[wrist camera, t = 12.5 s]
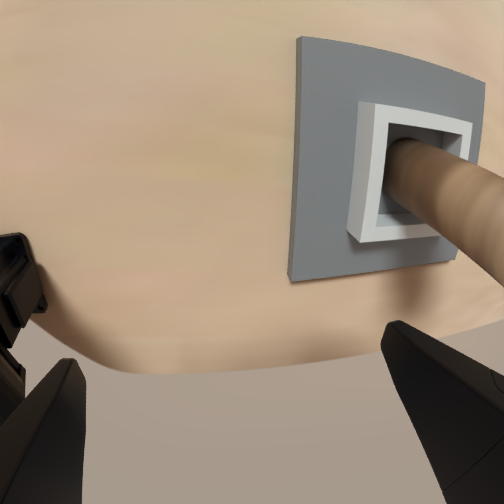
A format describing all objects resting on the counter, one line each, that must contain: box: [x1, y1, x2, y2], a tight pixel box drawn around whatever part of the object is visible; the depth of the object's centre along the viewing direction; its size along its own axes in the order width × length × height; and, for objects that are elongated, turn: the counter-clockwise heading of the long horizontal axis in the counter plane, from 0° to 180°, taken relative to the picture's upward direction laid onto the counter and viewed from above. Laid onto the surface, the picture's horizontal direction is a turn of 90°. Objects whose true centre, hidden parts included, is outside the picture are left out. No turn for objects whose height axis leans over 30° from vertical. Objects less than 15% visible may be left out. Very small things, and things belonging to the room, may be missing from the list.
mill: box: [382, 137, 504, 287], centre depth 14 cm, size 5×5×13 cm
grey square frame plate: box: [287, 36, 485, 282], centre depth 20 cm, size 16×16×3 cm
